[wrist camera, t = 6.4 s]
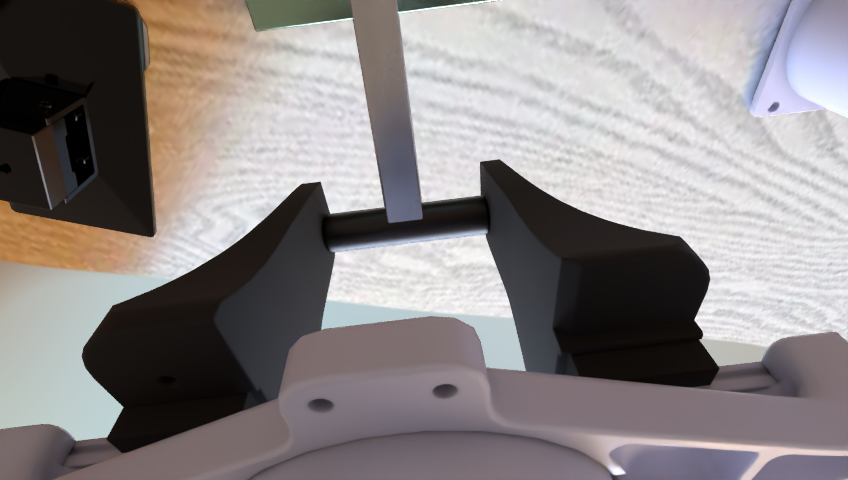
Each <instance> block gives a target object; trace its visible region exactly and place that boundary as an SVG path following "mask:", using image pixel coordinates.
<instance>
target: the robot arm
mask: <svg viewBox="0 0 848 480" xmlns="http://www.w3.org/2000/svg"><path fill="white" fill-rule="evenodd" d="M772 103H774V104H773V105H772V106H771V107H770V108H769V106H770V105H771V104H772ZM821 109H829V110H831V111H833V112H836V113H838V114H840V115H842V116H845V117H847V118H848V0H792V1H791V3H790V6H789V8H788V11H787V13H786V16H785V19H784V21H783V24H782V26H781V29H780V31H779V34H778V36H777V39H776V41H775V44H774V47H773V49H772V52H771V54H770V57H769V59H768V62H767V64H766V67H765V70H764V72H763V75H762V77H761V80H760V82H759V85H758V87H757V90H756V92H755V95H754V98H753V100H752V103H751V105H750V109H749V111H750V113H751V114H752V115H754V116H756V117H765V116H773V115H781V114H789V113H797V112H805V111H813V110H821ZM480 180H481V196H485V199H486V202H487V205H488V210H489V216H490V230H489V233H487V234H486V238H487V241H488V244H489V247H490V250H491V252H492V255H493V258H494V260H495V263H496V266H497V268H498V271H499V274H500V276H501V279H502V281H503V284H504V287H505V289H506V292H507V295H508V298H509V302H510V305H511V309H512V313H513V317H514V321H515V325H516V329H517V334H518V338H519V342H520V346H521V350H522V355H523V359H524V364H525V368H526V371H518V370H508V369H507V370H506V369H497V368H487V367H486V365H485V360H484V355H483V351H482V346H481V342H480V339H479V337H478V335H477V334H476V331H475V329H474V328H473V327H471V326H470V325H468V324H466V323H464V322H462V321H460V320H458V319H456V318H450V317H434V316H429V317H420V318H413V319H404V320H395V321H387V322H378V323H370V324H362V325H354V326H346V327H337V328H329V329H323V330H321V326H322V319H323V312H324V307H325V303H326V298H327V293H328V288H329V283H330V279H331V274H332V269H333V263H334V258H335V252H333V253H332V252H329V251H328V249H327V247H326V245H325V241H324V236H323V219H324V216H325V215H327V214H330V212H329V209H328V205H327V202H326V199H325V195H324V192H323V189H322V185H321V182H315V183H307V184H301V185H300V186H299V187H297V188H296V189H295V190H294V191H293V192H292V193H291V194H290V195H289V196H288V197H287V198H286V199H285V200H284V201H283V202H282V203H281V204H280V205H279V206H278V207H277V208H276V209H275V210H274V211H273V212H272V213H271V214H270V215H269V216H267V217H266V218H265V219H264V220H263V221H262V222H261V223H259V224H258V225H257V226H256V227H255V228H254V229H253V230H251V231H250V232H249V233H248V234H247V235H245V236H244V237H243V238H242V239H240V240H239V241H238V242H236V243H235V244H234V245H232V246H231V247H229V248H228V249H227V250H225V251H224V252H222V253H221V254H219V255H218V256H216V257H214V258H212V259H211V260H209V261H207V262H206V263H204V264H202V265H201V266H199V267H197V268H196V269H194V270H192V271H190V272H189V273H187V274H185V275H183V276H181V277H179V278H177V279H175V280H173V281H171V282H169V283H167V284H164V285H162V286H160V287H158V288H156V289H153V290H151V291H149V292H146V293H144V294H141V295H139V296H136V297H134V298H132V299H129V300H127V301H124V302H121V303H119V304H116V305H113V306H112V308H111V309H110V311H109V312H108V313H107V315H106V316H105V318H104V319H103V320H102V322H101V324H100V325H99V326H98V328H97V329H96V330H95V332H94V333H93V335H92V336H91V338H90V339H89V340H88V342H87V343H86V345H85V346H84V348H83V353H82V359H83V362H84V365H85V367H86V369H87V370H88V372H89V373H90V374H91V375H92V377H93V378H94V379H95V380H96V381H97V382H98V383H99V384H100V385H101V386H102V387H103V388H104V389H105V390H107V392H109V393H110V394H111V395H112V396H113V397H114V398H115V399H116V400H117V401H118V402H119V403H120V404H121V405H122V406H123V407H124V408H123V409H122V412H121V413H120V415H119V417H118V419H117V421H116V423H115V424H114V426H113V428H112V430H111V432H110V434H109V435H108V437H107V438H98V439H89V440H82V441H76V440H75V439H74V438H73V437H72V436H71V435H70V434H69V433H68V432H67V431H66V430H64V429H62V428H60V427H59V426H54V425H50V424H41V425H32V426H23V427H14V428H6V429H1V430H0V480H848V342H847V341H846V340H845V339H844V338H842V337H841V336H840V335H839V334H838V333H836V332H826V333H818V334H809V335H801V336H792V337H787V338H783V339H780V340H778V341H776V342H774V343H772V344H771V345H770V346H769V347H768V349H767V350H766V352H765V354H764V356H763V359H762V361H761V362H752V363H744V364H735V365H727V366H718V365H717V364H716V363H715V361H714V360H713V358H712V357H711V356H710V354H709V353H708V352H707V350H706V349H705V347H704V346H703V345H702V343H701V342H700V341H699V339H702V337H703V332H702V330H701V329H700V327H699V326H698V325H697V323H696V322H695V321H694V319H695V317H696V315H697V312H698V310H699V308H700V306H701V303H702V301H703V299H704V297H705V295H706V292H707V290H708V286H709V282H710V276H709V269H708V268H707V267H706V265H705V264H704V262H703V261H702V260H701V259H700V258H699V256H698V255H697V254H696V253H695V252H694V251H693V250H692V249H691V248H690V246H689V245H688V244H687V243H686V242H685V241H684V240H683V239H682V238H681V237H679V236H673V235H668V234H662V233H657V232H651V231H645V230H641V229H637V228H633V227H629V226H625V225H621V224H618V223H614V222H611V221H608V220H605V219H602V218H599V217H596V216H593V215H591V214H588V213H586V212H583V211H581V210H578V209H576V208H574V207H572V206H570V205H568V204H566V203H563V202H561V201H560V200H558V199H556V198H554V197H552V196H551V195H549V194H547V193H546V192H544V191H542V190H541V189H539V188H538V187H536V186H535V185H533V184H532V183H530V182H529V181H527V180H526V179H525V178H523V177H522V176H521V175H519V174H518V173H517V172H515V171H514V170H513V169H511V168H510V167H509V166H507V165H506V164H505V163H504V162H502V161H501V160H491V161H483V162H480Z"/></svg>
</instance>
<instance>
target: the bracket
mask: <svg viewBox="0 0 848 480" xmlns="http://www.w3.org/2000/svg"><path fill="white" fill-rule="evenodd" d="M493 1H501V0H397V4H398V12H399V13H407V12H415V11H423V10H430V9H438V8H446V7H454V6H462V5H469V4H477V3H485V2H493ZM246 4H247V7H248V10H249V13H250V16H251V19H252V22H253V25H254V28H255V30H256V31H257V32H259V31H267V30H275V29H282V28H290V27H298V26H306V25H314V24H321V23H329V22H337V21H345V20H352V19H353V17H352V11H351V5H350V0H246Z"/></svg>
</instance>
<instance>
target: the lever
mask: <svg viewBox="0 0 848 480" xmlns="http://www.w3.org/2000/svg"><path fill="white" fill-rule="evenodd" d="M350 5H351V11H352V17H353V23H354V29H355V34H356V40H357V46H358V52H359V58H360V64H361V70H362V76H363V82H364V88H365V94H366V100H367V106H368V112H369V118H370V123H371V129H372V135H373V141H374V147H375V153H376V159H377V165H378V171H379V177H380V183H381V189H382V195H383V201H384V207H383V208H375V209H367V210H359V211H350V212H342V213H334V214H327V215H325V216H324V219H323V236H324V241H325V245H326V247H327V249H328V251H329V252H332V253H333V252H341V251H349V250H357V249H366V248H374V247H382V246H391V245H399V244H407V243H416V242H424V241H432V240H441V239H449V238H457V237H466V236H474V235H482V234H487V233H489V230H490V216H489V210H488V205H487V202H486V199H485V196H474V197H466V198H457V199H449V200H441V201H433V202H424V203H422V197H421V189H420V181H419V173H418V165H417V157H416V149H415V141H414V133H413V125H412V117H411V109H410V101H409V93H408V85H407V77H406V69H405V61H404V53H403V45H402V36H401V28H400V20H399V12H398V4H397V0H350Z"/></svg>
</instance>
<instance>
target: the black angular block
mask: <svg viewBox="0 0 848 480" xmlns="http://www.w3.org/2000/svg"><path fill="white" fill-rule="evenodd" d="M149 64H150V56H149V42H148V29H147V26H146V25H145V23H144V21H143V20H142V18H141V16H140V14H139V11H138V10H137V9H136V8H135V7H133V6H131V5H127V4H124V3H121V2H117V1H114V0H0V200H3V201H8V202H9V203H10V206H11V208H12V210H14V211H15V212H19V213H24V214H29V215H35V216H40V217H45V218H51V219H56V220H61V221H67V222H72V223H77V224H83V225H88V226H93V227H99V228H104V229H110V230H115V231H120V232H126V233H131V234H136V235H142V236H147V237H153V236H154V235H155V234H156V232H157V231H156V218H155V205H154V192H153V179H152V167H151V154H150V141H149V128H148V115H147V102H146V89H145V76H144V71H145V70H146V69H147V67H148V66H149Z"/></svg>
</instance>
